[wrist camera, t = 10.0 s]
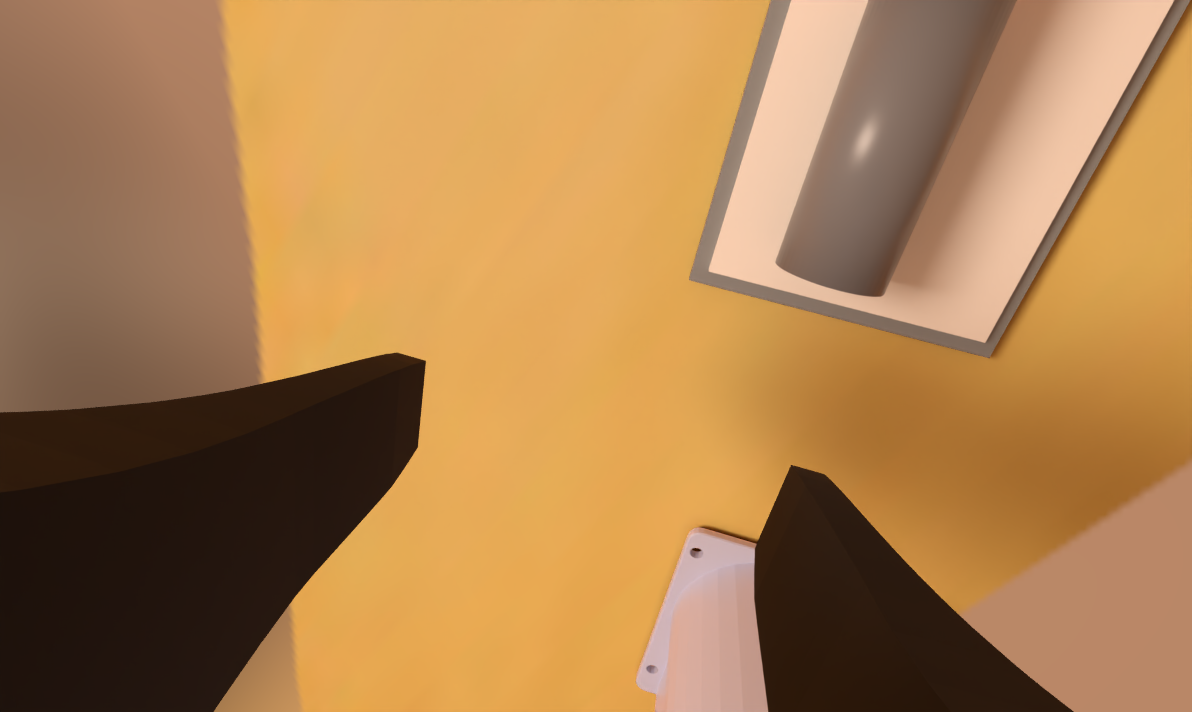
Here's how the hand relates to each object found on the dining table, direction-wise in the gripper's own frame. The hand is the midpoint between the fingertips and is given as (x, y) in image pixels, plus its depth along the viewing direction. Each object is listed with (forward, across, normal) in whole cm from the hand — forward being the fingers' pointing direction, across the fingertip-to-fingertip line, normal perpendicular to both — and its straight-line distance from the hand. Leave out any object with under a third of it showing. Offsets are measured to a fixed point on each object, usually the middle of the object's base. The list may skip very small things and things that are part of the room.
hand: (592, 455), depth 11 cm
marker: (+8, -6, -8) cm, 13 cm away
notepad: (+9, -6, -8) cm, 14 cm away
